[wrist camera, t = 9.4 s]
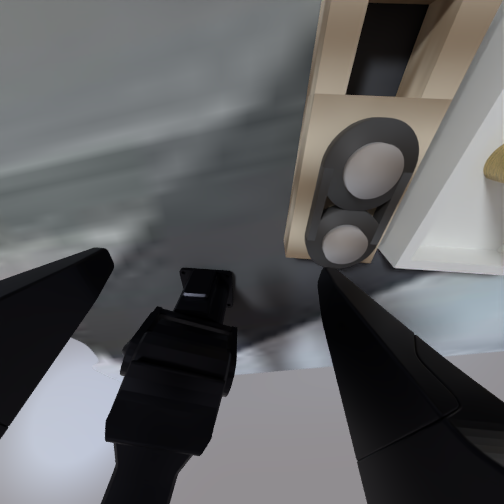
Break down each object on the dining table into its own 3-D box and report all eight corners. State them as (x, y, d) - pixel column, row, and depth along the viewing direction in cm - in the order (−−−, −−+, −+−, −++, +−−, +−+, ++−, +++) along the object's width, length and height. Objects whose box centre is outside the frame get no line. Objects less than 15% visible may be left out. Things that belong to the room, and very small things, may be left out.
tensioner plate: (358, 245, 21) (381, 279, 17) (283, 240, 21) (288, 273, 17) (477, -32, 10) (624, -133, 6) (327, -36, 11) (368, -136, 6)
